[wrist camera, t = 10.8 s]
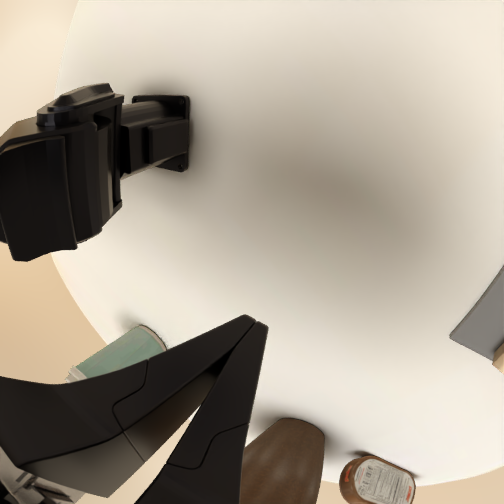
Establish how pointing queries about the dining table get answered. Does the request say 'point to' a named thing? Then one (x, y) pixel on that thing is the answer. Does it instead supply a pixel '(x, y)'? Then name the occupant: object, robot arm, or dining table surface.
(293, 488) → the plant pot
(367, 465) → the tin
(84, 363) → the disposable coffee cup
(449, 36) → the dining table surface
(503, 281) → the mat
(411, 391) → the dining table surface
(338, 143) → the dining table surface
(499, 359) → the domino
